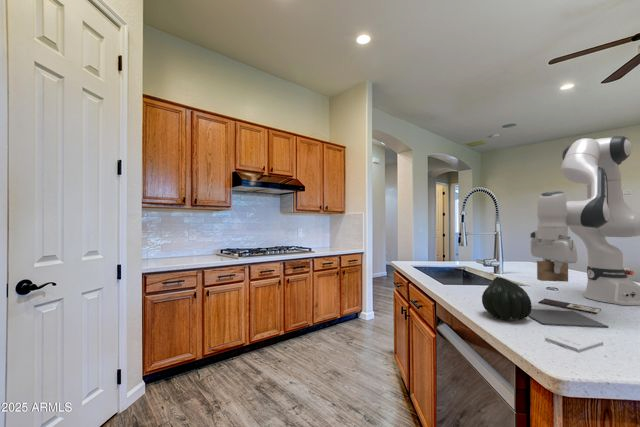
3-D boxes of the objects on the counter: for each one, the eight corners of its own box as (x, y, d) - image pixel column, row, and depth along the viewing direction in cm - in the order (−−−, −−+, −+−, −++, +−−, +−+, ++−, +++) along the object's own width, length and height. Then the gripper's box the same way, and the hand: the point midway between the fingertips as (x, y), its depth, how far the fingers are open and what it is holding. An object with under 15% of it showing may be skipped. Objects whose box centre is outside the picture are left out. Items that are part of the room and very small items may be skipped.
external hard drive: (603, 347, 82) (578, 354, 77) (569, 336, 90) (544, 342, 85) (603, 341, 82) (578, 348, 77) (569, 330, 90) (544, 336, 85)
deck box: (563, 280, 108) (563, 261, 108) (568, 281, 105) (568, 262, 105) (537, 279, 109) (536, 260, 109) (541, 280, 106) (541, 261, 107)
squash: (546, 311, 94) (525, 271, 105) (499, 312, 95) (482, 272, 105) (526, 328, 105) (508, 290, 115) (484, 328, 106) (470, 291, 116)
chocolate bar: (545, 298, 128) (601, 308, 114) (545, 300, 128) (601, 311, 114) (538, 301, 123) (596, 313, 108) (538, 304, 123) (596, 315, 108)
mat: (572, 312, 111) (572, 310, 111) (608, 328, 95) (608, 326, 95) (516, 309, 113) (516, 308, 113) (542, 324, 97) (542, 323, 97)
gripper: (583, 236, 97) (583, 278, 96) (544, 233, 117) (544, 267, 117) (562, 236, 98) (562, 277, 97) (527, 233, 118) (527, 267, 118)
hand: (552, 272), depth 107 cm, fingers closed on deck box, 3 cm apart
